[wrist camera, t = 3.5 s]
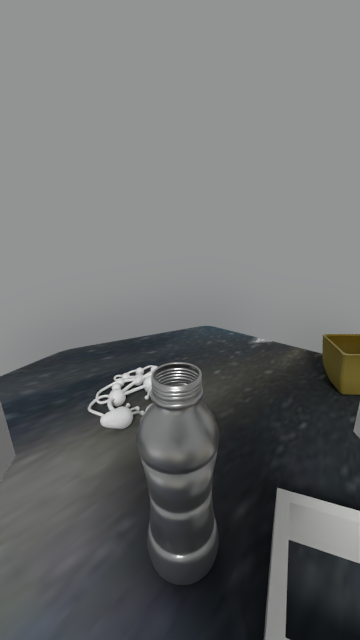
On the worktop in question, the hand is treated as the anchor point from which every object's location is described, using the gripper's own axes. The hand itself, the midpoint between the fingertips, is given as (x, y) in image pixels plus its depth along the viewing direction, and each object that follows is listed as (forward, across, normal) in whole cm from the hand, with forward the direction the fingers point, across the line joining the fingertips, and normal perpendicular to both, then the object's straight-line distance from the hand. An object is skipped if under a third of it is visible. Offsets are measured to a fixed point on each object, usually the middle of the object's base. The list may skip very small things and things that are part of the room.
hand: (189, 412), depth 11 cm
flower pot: (+35, +33, -24) cm, 54 cm away
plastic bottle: (+10, 0, -24) cm, 26 cm away
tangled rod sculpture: (+36, -7, -25) cm, 44 cm away
